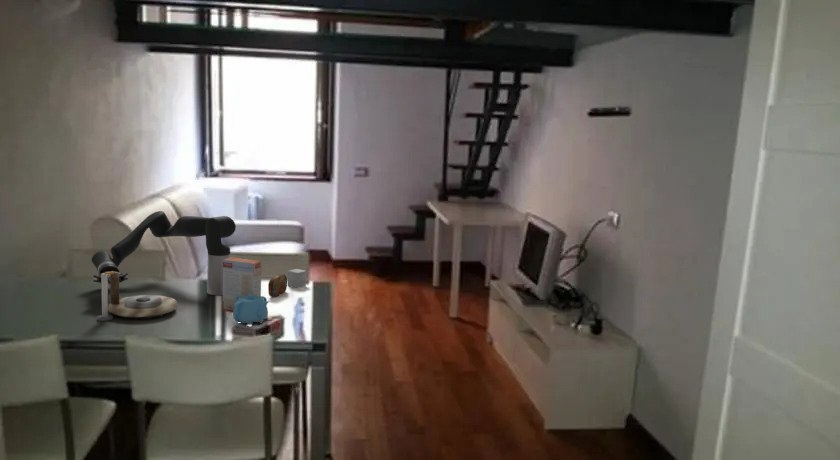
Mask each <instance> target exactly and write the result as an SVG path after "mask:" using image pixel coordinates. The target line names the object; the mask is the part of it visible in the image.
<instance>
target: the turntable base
mask: <svg viewBox="0 0 840 460" xmlns="http://www.w3.org/2000/svg"><path fill="white" fill-rule="evenodd" d="M161 315H162V316H165V315H167V314H166V313H165V315H164V314H161ZM161 315H156V316H149V317H125V316H119V317H121V318H122V319H123V318H124V319H131V320H146V319H148V320H149V319H153V318H159V317H162V316H161Z"/></svg>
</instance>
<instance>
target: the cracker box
mask: <svg viewBox="0 0 840 460" xmlns="http://www.w3.org/2000/svg"><path fill="white" fill-rule="evenodd" d="M248 294H254V296H259V297H261V295H262V261H261V260H255V259H245V258H240V257H232V256H230V258H227V259H224V260H223V295H222V311H224V312H230V313H233V310H234V305H235V303H236V296H237V295H240V296H242V297H244V296H247V295H248Z"/></svg>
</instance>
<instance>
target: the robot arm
mask: <svg viewBox="0 0 840 460" xmlns="http://www.w3.org/2000/svg"><path fill="white" fill-rule="evenodd" d="M236 226H237V225H236V223H235V221H234V220H233V218H231V217H230V216H228V215H221V216H212V217H204V216H198V215H197V216H196V215H195V216H193V215H184V216H180V217H179V218H178V219H177V220H176V221H175V222H174V224H172V223H171V221H170V219H169V218H168V216H167V215H166V213H165V212H164V211H162V210H160V211H159V210H158V211H155V212H152V213H151V214H149V215H148V216H147V217H146V218H144V219H143V220H142V222H140V223H139V224H138V225H137V226H136V227H135V228H134V229H133V230H132V231H131V232H130V233H129V234H128V235H126V236H125V237H124V238H123V239H121V240H120V241H118V243H116V244H115V245H113V246H112V247H111V248H110V254H111V255H110V254H109V253H108V252H107V251H106V250H100V251H97V252H95V253H94V254H92V257H91V263H92V264H93V265H94V267H95V268H96V271H97V274H93V276H92V280H93V283H94V282H95V283H99V284H101V274H102V273H105V272H112V271H113V272H119V284H120V283H122V282H126V281H127V280H129V272H124V273H122V272H120V270H119V266H120V265H121V263H122V262H123V261H124V260H125V259H126V258H128V257H129V256H130V255H132V254H133V253H134V252H135V251H136V250H137V249H138V248H139V245H140V243H141V241H142V239H143V236H144V234H145V232H146V231H147V230H148V229H149V230H150V233H151V234H152V236H154V237H155V238H167V237H168V238H170V237H185V238H195V237H204V236H205V247H206V250H207V274H206V276H207V277H206V279H207V287H206V291H207V292H206V294H208V295H211V296H223V260H224V259H227V258H230V257H231V247H230V246H228V245H225V244H223V241H222V239H224V238H229V237H231V236H232V235H233V234H234V233H235V231H236V228H237V227H236ZM107 279H108V285H110V275H107Z"/></svg>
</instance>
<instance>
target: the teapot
mask: <svg viewBox="0 0 840 460" xmlns="http://www.w3.org/2000/svg"><path fill="white" fill-rule="evenodd" d="M268 303H270V301H269V300H268V299H267V297H266V296H263V295H262V296H261V297H259V296H254V294H248V295H247V296H244V297H242V296H240V295H237V296H236V303H235V305H234V310H233V312H232V317H233V320H235V321H236V322H241V323H240V324H245V323H251V322H256V321H260V320H263V319H265V320H266V319H267V317H268V316H269V310H268V307H267V305H268ZM263 321H264V320H263Z"/></svg>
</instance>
